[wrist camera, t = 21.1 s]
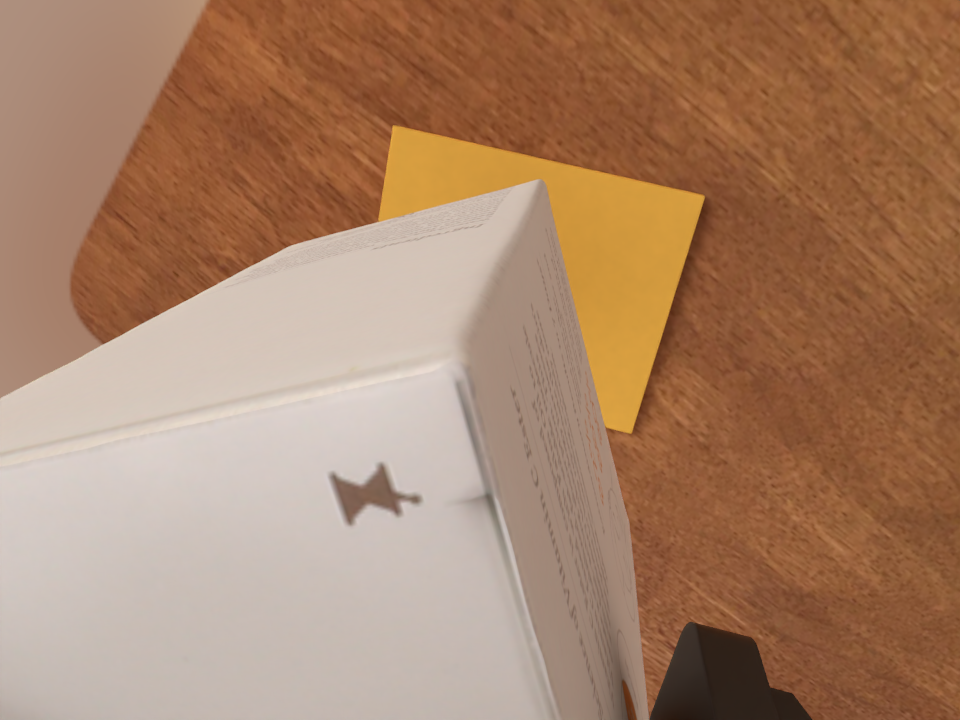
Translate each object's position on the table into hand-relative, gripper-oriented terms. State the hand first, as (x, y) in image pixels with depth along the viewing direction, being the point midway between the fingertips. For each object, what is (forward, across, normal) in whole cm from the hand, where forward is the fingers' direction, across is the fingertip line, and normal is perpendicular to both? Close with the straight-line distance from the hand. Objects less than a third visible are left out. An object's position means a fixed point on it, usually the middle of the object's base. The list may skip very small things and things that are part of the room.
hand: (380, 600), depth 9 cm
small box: (+7, 0, 0) cm, 7 cm away
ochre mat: (+21, 0, +1) cm, 21 cm away
